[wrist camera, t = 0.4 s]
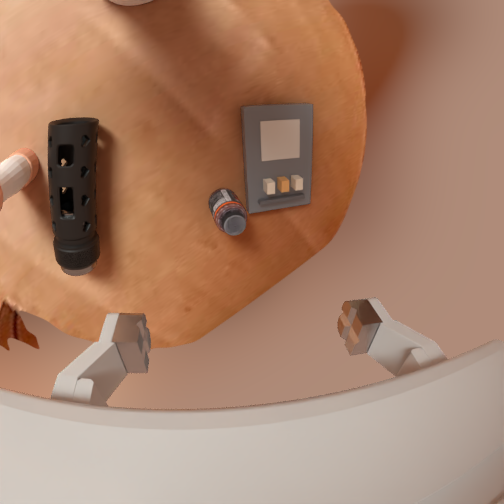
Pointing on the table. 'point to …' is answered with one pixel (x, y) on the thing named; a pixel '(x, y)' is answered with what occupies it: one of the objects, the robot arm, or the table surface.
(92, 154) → the muzzle brake
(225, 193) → the supplement bottle
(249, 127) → the breaker board
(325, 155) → the table surface
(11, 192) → the pepper shaker
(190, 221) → the table surface
